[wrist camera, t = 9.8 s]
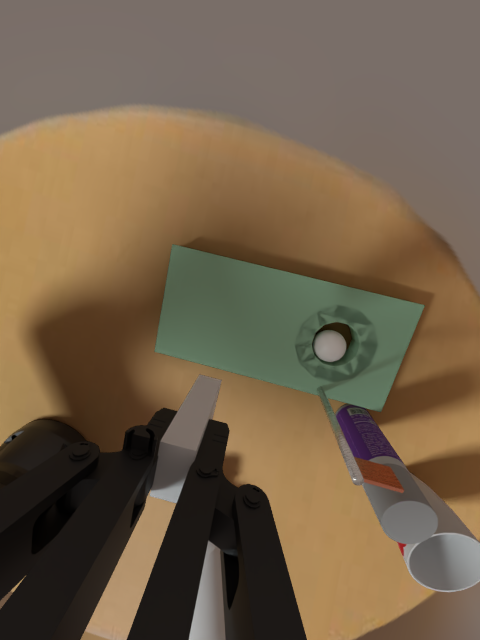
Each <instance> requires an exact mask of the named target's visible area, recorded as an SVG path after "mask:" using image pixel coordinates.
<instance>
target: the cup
mask: <svg viewBox="0 0 480 640" xmlns="http://www.w3.org/2000/svg"><path fill="white" fill-rule="evenodd" d="M409 473H410V472H409ZM410 474H411V476H412V477H413V479H414V480H415V482H416V484H417V485H418V487H419V488H420V490H421V491H422V493H423V494H424V496H425V497H426V499H427V501H428V502H429V504H430V505H431V507H432V508H433V510H434V511H435V513H436V515H437V518H438V527H437V530H436V532H435V533H434V534H433V535H432V536H431V537H430V538H429V539H427V540H425V541H423V542H420V543H416V544H404V543H399V542H397V543H398V546H399V548H400V551H401V553H402V555H403V558H404V560H405V563H406V565H407V568H408V570H409V572H410V574H411V576H412V577H413V578H414V579H415V580H416V581H417V582H418V583H419V584H421V585H423V586H424V587H427V588H429V589H432V590H436V591H442V592H454V591H460V590H464V589H467V588H469V587H471V586H473V585H475V584H476V583H478V582H479V581H480V542H479V541H478V540H477V539H476V538H475V536H474V535H473V534H472V533H471V532H470V530H469V529H468V528H467V527H466V526H465V524H464V523H463V522H462V521H461V520H460V518H459V517H458V516H457V515H456V514H455V513H454V511H453V510H452V509H451V508H450V507H449V506H448V505H447V504H446V503H445V502H444V501H443V500H442V499H441V498H440V497H439V496H438V495H437V494H436V493H435V492H434V491H433V490H432V489H431V488H430V487H429V486H427V485H426V484H425V483H424V482H422V481H421V480H420V479H418V478H417V477H416V476H415V475H413V474H412V473H410Z"/></svg>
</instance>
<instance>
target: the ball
mask: <svg viewBox="0 0 480 640" xmlns="http://www.w3.org/2000/svg"><path fill="white" fill-rule="evenodd" d="M313 351H314V353H315V354H316V356H317V357H318V358H320V359H321V360H323V361H326V362H334V361H337V360H339V359H340V358H341V357H342V356H343V355H344V354H345V351H346V341H345V339H344V337H343V336H342V335H341V334H340V333H338V332H336V331H333V330H324V331H322V332H320V333H318V334H317V335H316V336H315V338H314V340H313Z"/></svg>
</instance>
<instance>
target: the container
mask: <svg viewBox="0 0 480 640" xmlns="http://www.w3.org/2000/svg"><path fill="white" fill-rule="evenodd" d="M335 416H336V418H337V421H338V423H339V425H340V427H341V430H342V432H343V434H344V436H345V438H346V441H347V443H348V445H349V447H350V450H351V452H352V454H353V456H354V457H357V458H360V459H364V460H368V461H371V462H375V463H378V464H382V465H385V466H389V467H391V469H392V470H393V472H394V474H395V475H396V477H397V479H398V480H399V482H400V484H401V485H402V487H403V489H404V492H403V493H400V492H397V491H393V490H390V489H386V488H382V487H379V486H375V485H372V484H368V483H365V482H364V483H363V484H362V486H363V488H364V490H365V492H366V494H367V496H368V498H369V501H370V503H371V505H372V507H373V509H374V511H375V514H376V516H377V518H378V520H379V522H380V524H381V526H382V529H383V531H384V532H385V534H386V535H387V536H388V537H390V538H391V539H392V540H394V541H397V542H399V543H404V544H416V543H420V542H423V541H425V540H427V539H429V538H430V537H431V536H432V535H433V534H434V533H435V532H436V530H437V527H438V518H437V515H436V513H435V511H434V510H433V508H432V507H431V505H430V504H429V502H428V501H427V499H426V497H425V496H424V494H423V493H422V491H421V490H420V488H419V487H418V485H417V484H416V482H415V480H414V479H413V477H412V476H411V474H410V473H409V471H408V470H407V468H406V466H405V465H404V463H403V462H402V460H401V459H400V458H399V456H398V455H397V453H396V452H395V450H394V449H393V447H392V446H391V444H390V443H389V442H388V440H387V439H386V437H385V436H384V434H383V433H382V431H381V430H380V428H379V427H378V426H377V424H376V423H375V421H374V420H373V418H372V417H371V415H370V414H369V413H368V411H367V410H366V409H365V408H363V407H359V406H356V405H352V404H345V405H343V406H341V407H340V408H339V409H338V410H337V412H336V414H335Z"/></svg>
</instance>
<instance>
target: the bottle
mask: <svg viewBox="0 0 480 640" xmlns="http://www.w3.org/2000/svg"><path fill="white" fill-rule="evenodd" d="M189 640H226V638H225V622H224V606H223V591H222V575H221V559H220V549H219V548H218V547H217V546H215V545H214V544H212V543H211V542H210V541H208V545H207V550H206V555H205V560H204V565H203V570H202V575H201V580H200V585H199V590H198V595H197V600H196V605H195V610H194V616H193V621H192V626H191V631H190V636H189Z"/></svg>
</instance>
